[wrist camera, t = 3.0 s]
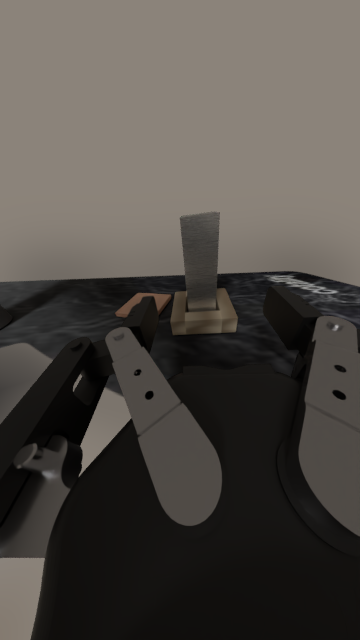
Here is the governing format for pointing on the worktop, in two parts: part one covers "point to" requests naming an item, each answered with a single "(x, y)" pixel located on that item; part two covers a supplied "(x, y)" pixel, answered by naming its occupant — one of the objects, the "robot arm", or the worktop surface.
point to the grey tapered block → (200, 259)
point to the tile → (125, 310)
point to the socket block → (203, 316)
